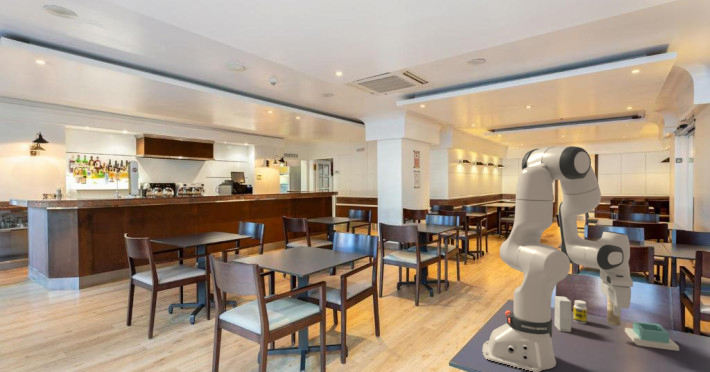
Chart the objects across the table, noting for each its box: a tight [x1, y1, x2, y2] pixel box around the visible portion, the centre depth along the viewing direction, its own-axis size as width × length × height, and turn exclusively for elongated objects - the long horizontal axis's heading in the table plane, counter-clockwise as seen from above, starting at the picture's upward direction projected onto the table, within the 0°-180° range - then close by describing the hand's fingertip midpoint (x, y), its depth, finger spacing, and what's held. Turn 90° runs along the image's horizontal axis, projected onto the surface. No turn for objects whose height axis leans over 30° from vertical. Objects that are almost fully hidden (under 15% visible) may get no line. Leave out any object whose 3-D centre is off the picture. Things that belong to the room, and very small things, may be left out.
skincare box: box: [554, 295, 572, 333], centre depth 141 cm, size 6×4×12 cm
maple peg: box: [606, 295, 622, 327], centre depth 131 cm, size 4×4×10 cm
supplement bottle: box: [572, 299, 588, 325], centre depth 147 cm, size 5×5×8 cm
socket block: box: [624, 321, 680, 352], centre depth 130 cm, size 12×12×5 cm
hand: (613, 312), depth 131 cm, fingers closed on maple peg, 4 cm apart
